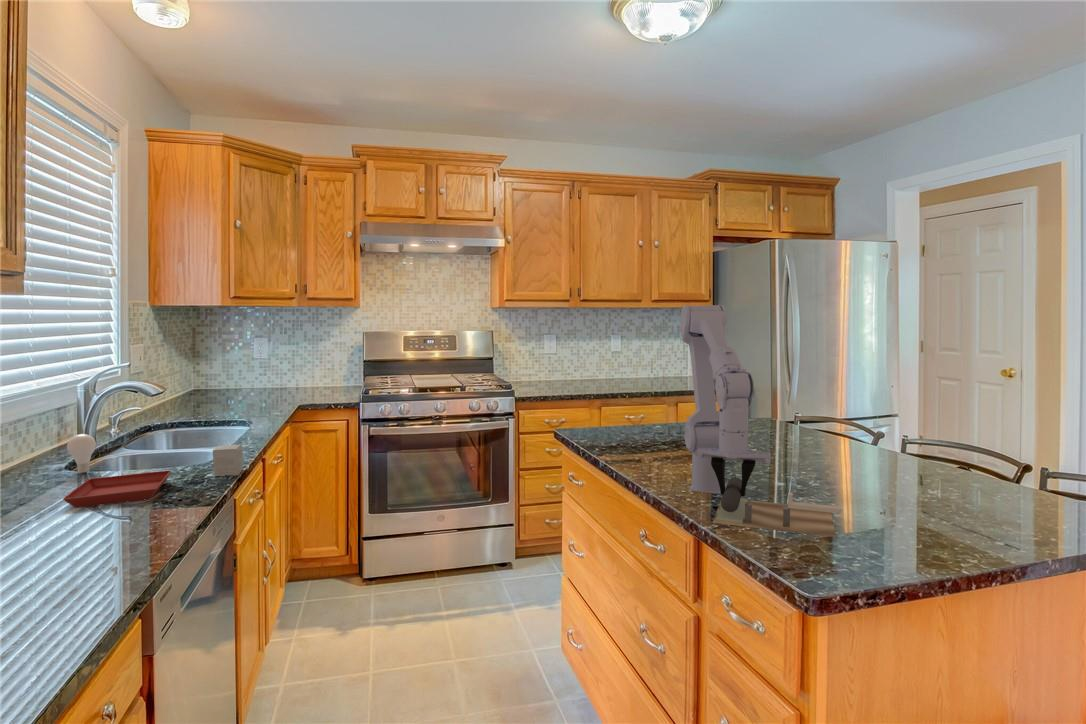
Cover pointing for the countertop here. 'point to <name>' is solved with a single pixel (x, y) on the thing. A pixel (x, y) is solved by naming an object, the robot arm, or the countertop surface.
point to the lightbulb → (81, 450)
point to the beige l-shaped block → (812, 506)
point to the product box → (227, 460)
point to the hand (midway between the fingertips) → (732, 494)
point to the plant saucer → (117, 489)
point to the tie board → (777, 518)
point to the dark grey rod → (732, 495)
